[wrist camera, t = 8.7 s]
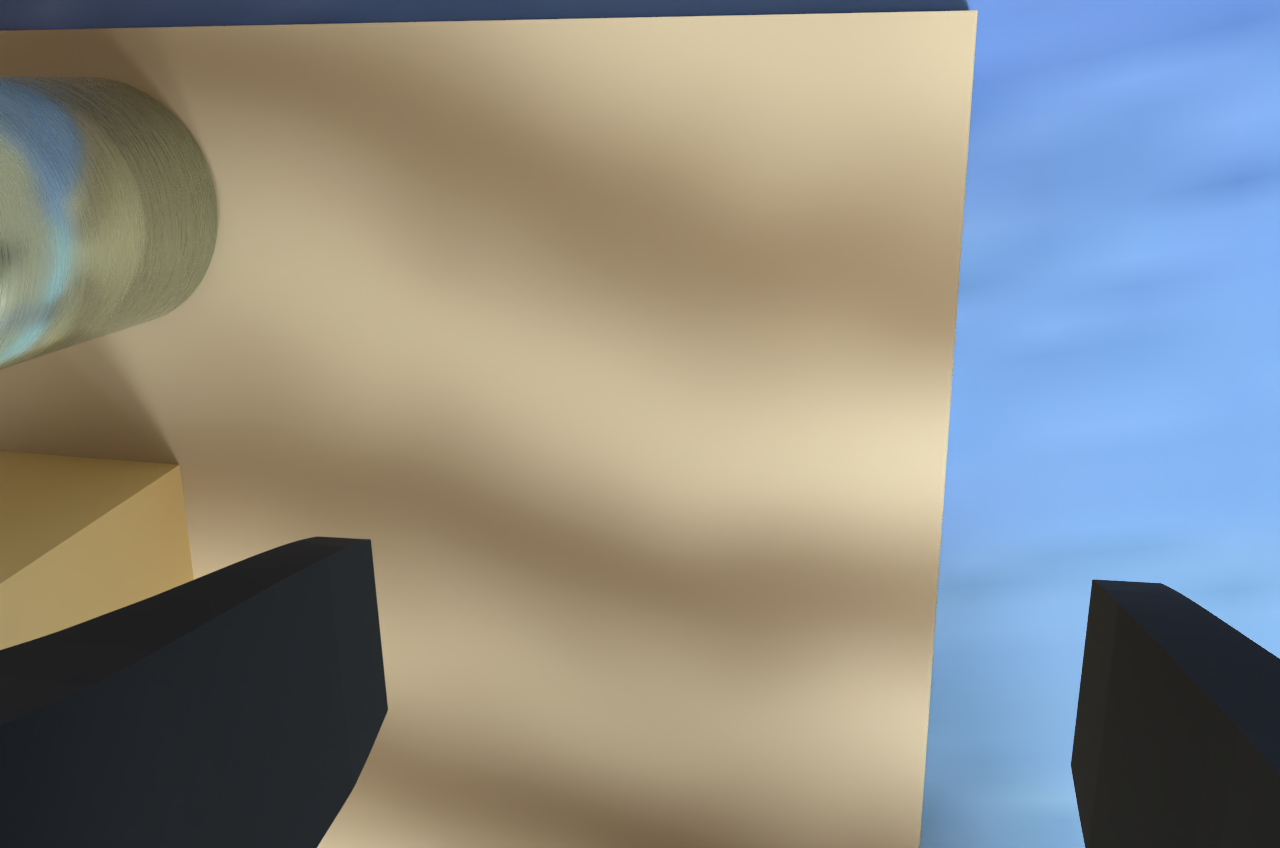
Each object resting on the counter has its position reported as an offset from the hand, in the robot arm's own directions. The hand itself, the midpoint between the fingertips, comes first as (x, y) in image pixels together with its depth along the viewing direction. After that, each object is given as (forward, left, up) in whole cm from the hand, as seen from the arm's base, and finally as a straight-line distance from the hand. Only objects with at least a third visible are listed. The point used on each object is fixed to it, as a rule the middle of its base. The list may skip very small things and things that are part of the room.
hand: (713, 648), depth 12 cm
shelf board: (-3, +8, -10) cm, 13 cm away
